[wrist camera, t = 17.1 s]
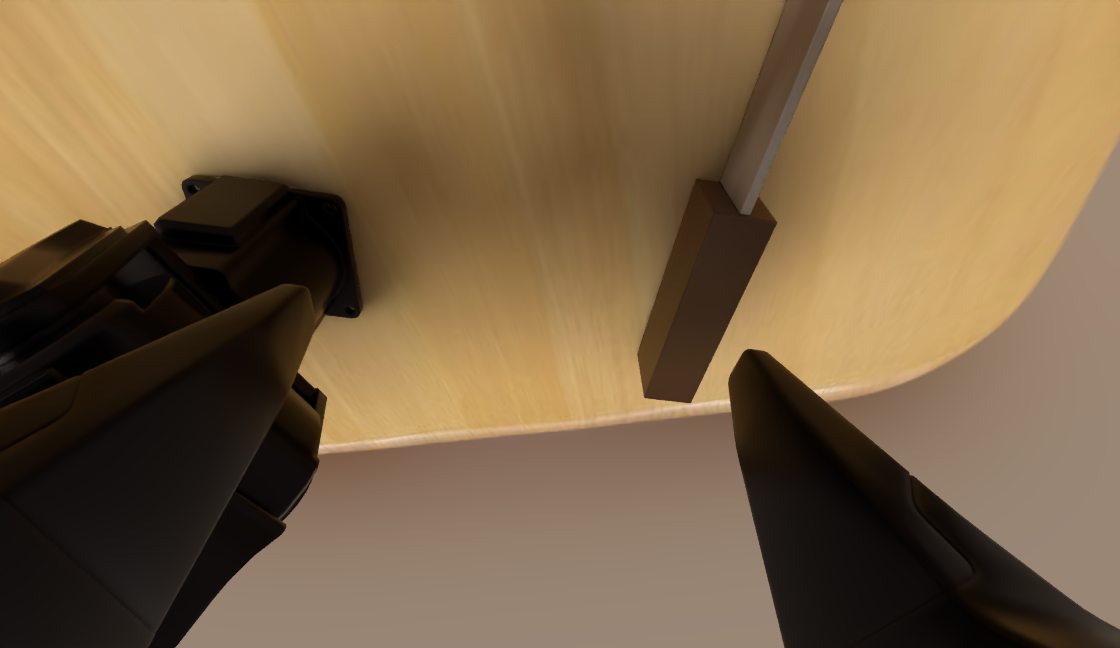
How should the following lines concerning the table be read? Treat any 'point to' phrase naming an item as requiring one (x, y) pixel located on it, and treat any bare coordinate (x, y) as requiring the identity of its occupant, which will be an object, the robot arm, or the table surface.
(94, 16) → the table surface
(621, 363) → the table surface
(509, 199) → the table surface
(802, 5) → the knife
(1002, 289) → the table surface
